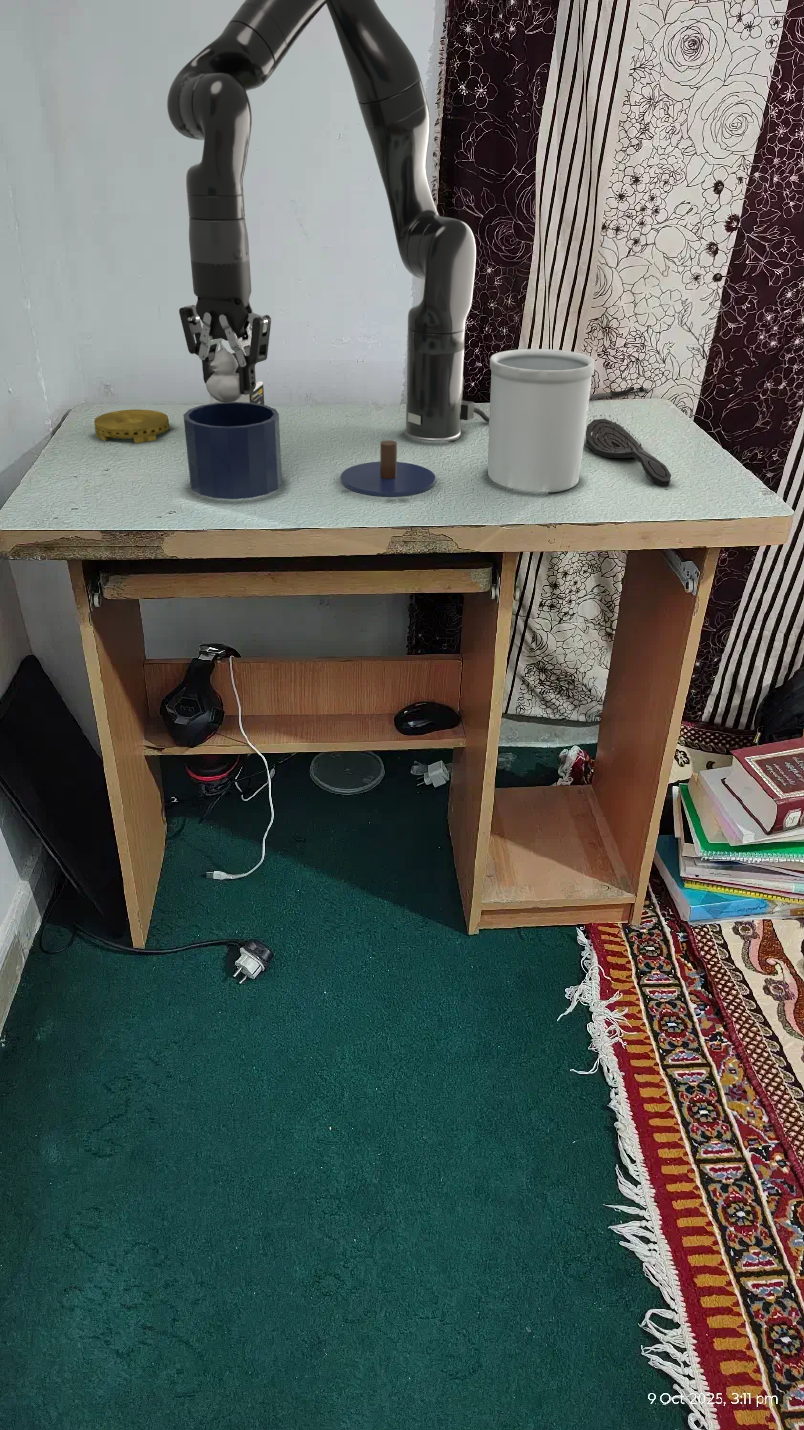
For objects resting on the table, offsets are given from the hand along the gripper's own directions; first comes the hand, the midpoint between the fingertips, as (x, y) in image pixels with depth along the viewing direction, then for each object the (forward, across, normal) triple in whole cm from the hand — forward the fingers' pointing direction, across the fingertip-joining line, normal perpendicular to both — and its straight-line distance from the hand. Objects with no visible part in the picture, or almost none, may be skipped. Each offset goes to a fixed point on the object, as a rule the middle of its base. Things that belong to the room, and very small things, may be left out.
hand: (229, 390), depth 136 cm
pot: (+14, 0, 0) cm, 14 cm away
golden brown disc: (+14, +31, -12) cm, 36 cm away
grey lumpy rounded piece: (+2, 0, 0) cm, 2 cm away
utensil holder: (+14, -35, -27) cm, 46 cm away
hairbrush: (+14, -45, -44) cm, 64 cm away
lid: (+13, -18, -13) cm, 26 cm away
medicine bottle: (+14, +18, -24) cm, 33 cm away
